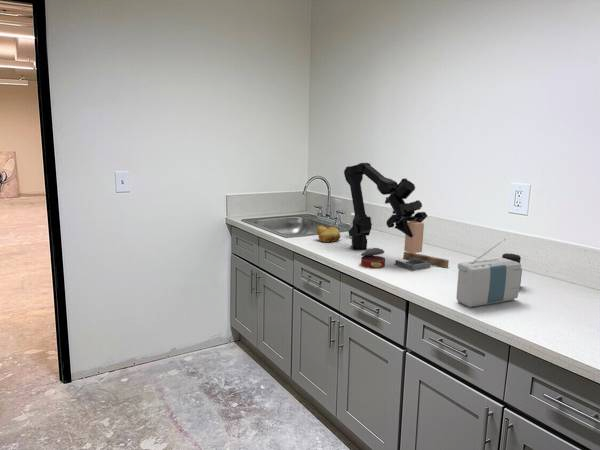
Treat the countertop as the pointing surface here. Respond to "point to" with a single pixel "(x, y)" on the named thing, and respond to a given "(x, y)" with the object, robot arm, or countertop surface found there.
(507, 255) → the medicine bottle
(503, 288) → the stereo radio cassette player
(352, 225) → the supplement box
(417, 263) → the keeper bracket
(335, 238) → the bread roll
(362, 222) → the robot arm
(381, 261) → the canned food
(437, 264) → the door edge strip
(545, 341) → the countertop surface
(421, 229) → the salmon pink cylinder
